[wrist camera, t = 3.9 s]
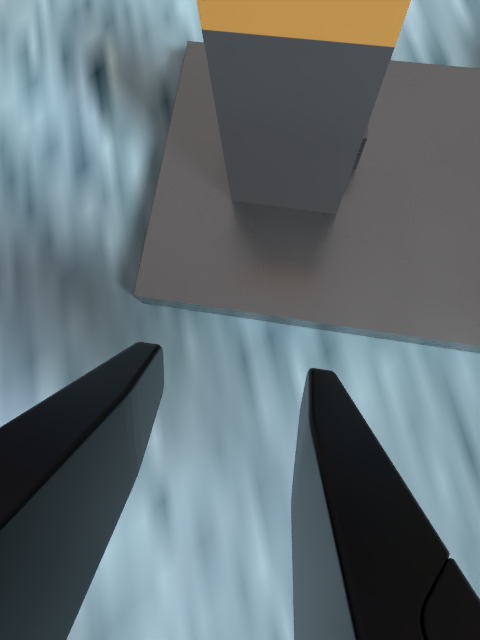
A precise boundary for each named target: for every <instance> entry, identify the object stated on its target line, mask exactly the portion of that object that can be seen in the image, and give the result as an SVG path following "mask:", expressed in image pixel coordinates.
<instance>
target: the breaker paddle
mask: <svg viewBox="0 0 480 640" xmlns="http://www.w3.org/2000/svg"><path fill="white" fill-rule="evenodd" d="M410 1H411V0H197V5H198V11H199V17H200V22H201V28H202V34H203V39H204V45H205V51H206V57H207V62H208V68H209V74H210V80H211V85H212V91H213V97H214V103H215V108H216V114H217V120H218V126H219V131H220V137H221V143H222V149H223V154H224V160H225V166H226V172H227V177H228V183H229V189H230V195H231V200H232V201H237V202H244V203H252V204H260V205H268V206H276V207H284V208H292V209H300V210H308V211H316V212H324V213H332V214H337V212H338V209H339V206H340V203H341V200H342V197H343V194H344V192H345V189H346V186H347V183H348V180H349V177H350V174H351V171H352V168H353V166H354V163H355V160H356V157H357V154H358V151H359V148H360V145H361V143H362V140H363V137H364V134H365V131H366V128H367V125H368V122H369V119H370V117H371V114H372V111H373V108H374V105H375V102H376V99H377V96H378V94H379V91H380V88H381V85H382V82H383V79H384V76H385V73H386V70H387V68H388V65H389V62H390V59H391V56H392V53H393V50H394V47H395V45H396V42H397V39H398V36H399V33H400V30H401V27H402V24H403V21H404V19H405V16H406V13H407V10H408V7H409V4H410Z"/></svg>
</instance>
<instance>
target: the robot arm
mask: <svg viewBox="0 0 480 640" xmlns="http://www.w3.org/2000/svg"><path fill="white" fill-rule="evenodd" d="M163 388H164V364H163V350H162V347H161V346H160V345H158V344H151V343H144V342H137V343H135V344H133V345H132V346H130V347H129V348H127V349H125V350H124V351H122V352H120V353H119V354H117V355H116V356H114V357H112V358H111V359H109V360H108V361H106V362H104V363H103V364H101V365H100V366H98V367H96V368H95V369H93V370H92V371H90V372H88V373H87V374H85V375H84V376H82V377H80V378H79V379H77V380H76V381H74V382H72V383H71V384H69V385H68V386H66V387H64V388H63V389H61V390H60V391H58V392H56V393H55V394H53V395H52V396H50V397H48V398H47V399H45V400H44V401H42V402H40V403H39V404H37V405H36V406H34V407H32V408H31V409H29V410H27V411H26V412H24V413H23V414H21V415H19V416H18V417H16V418H15V419H13V420H11V421H10V422H8V423H7V424H5V425H3V426H2V427H0V640H67V637H68V635H69V633H70V630H71V628H72V626H73V623H74V621H75V619H76V617H77V614H78V612H79V610H80V607H81V605H82V603H83V600H84V598H85V596H86V594H87V591H88V589H89V587H90V584H91V582H92V580H93V577H94V575H95V573H96V570H97V568H98V566H99V564H100V561H101V559H102V557H103V554H104V552H105V550H106V547H107V545H108V543H109V541H110V538H111V536H112V534H113V531H114V529H115V527H116V524H117V522H118V520H119V518H120V515H121V513H122V511H123V508H124V506H125V504H126V501H127V499H128V497H129V495H130V492H131V490H132V488H133V485H134V483H135V480H136V478H137V475H138V473H139V469H140V466H141V463H142V460H143V457H144V454H145V450H146V447H147V444H148V440H149V437H150V434H151V430H152V427H153V424H154V420H155V417H156V414H157V410H158V407H159V404H160V400H161V397H162V393H163ZM291 522H292V564H293V605H294V640H480V599H479V597H478V596H477V594H476V593H475V591H474V590H473V588H472V587H471V585H470V584H469V582H468V581H467V579H466V578H465V576H464V574H463V573H462V571H461V570H460V568H459V567H458V565H457V563H456V562H455V560H454V559H452V558H449V555H450V554H449V551H448V550H447V548H446V546H445V545H444V543H443V542H442V540H441V539H440V537H439V536H438V534H437V532H436V531H435V529H434V528H433V526H432V525H431V523H430V521H429V520H428V518H427V517H426V515H425V514H424V512H423V510H422V509H421V507H420V506H419V504H418V503H417V501H416V499H415V498H414V496H413V495H412V493H411V492H410V490H409V488H408V487H407V485H406V484H405V482H404V481H403V479H402V477H401V476H400V474H399V473H398V471H397V470H396V468H395V466H394V465H393V463H392V462H391V460H390V459H389V457H388V455H387V454H386V452H385V451H384V449H383V448H382V446H381V445H380V443H379V441H378V440H377V438H376V437H375V435H374V434H373V432H372V430H371V429H370V427H369V426H368V424H367V423H366V421H365V419H364V418H363V416H362V415H361V413H360V412H359V410H358V408H357V407H356V405H355V404H354V402H353V401H352V399H351V397H350V396H349V394H348V393H347V391H346V390H345V388H344V386H343V385H342V383H341V382H340V380H339V379H338V377H337V375H336V374H335V373H334V372H333V371H329V370H323V369H316V368H311V369H309V370H308V373H307V377H306V382H305V387H304V392H303V397H302V402H301V408H300V415H299V425H298V435H297V445H296V455H295V465H294V475H293V485H292V499H291ZM448 558H449V559H448ZM447 559H448V560H447Z"/></svg>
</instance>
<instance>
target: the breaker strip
mask: <svg viewBox="0 0 480 640" xmlns="http://www.w3.org/2000/svg"><path fill="white" fill-rule="evenodd" d="M134 296H135V297H136V298H137V299H139V300H140V301H141V302H142V303H148V304H155V305H161V306H168V307H175V308H181V309H188V310H195V311H202V312H208V313H215V314H222V315H228V316H235V317H242V318H248V319H255V320H262V321H269V322H275V323H282V324H289V325H295V326H302V327H309V328H315V329H322V330H329V331H335V332H342V333H349V334H356V335H362V336H369V337H376V338H382V339H389V340H396V341H402V342H409V343H416V344H422V345H429V346H436V347H443V348H449V349H456V350H463V351H469V352H476V353H480V69H476V68H465V67H455V66H444V65H434V64H423V63H413V62H402V61H392V60H390V62H389V65H388V68H387V70H386V73H385V76H384V79H383V82H382V85H381V88H380V91H379V94H378V96H377V99H376V102H375V105H374V108H373V111H372V114H371V117H370V119H369V122H368V125H367V128H366V131H365V134H364V137H363V140H362V143H361V145H360V148H359V151H358V154H357V157H356V160H355V163H354V166H353V168H352V171H351V174H350V177H349V180H348V183H347V186H346V189H345V192H344V194H343V197H342V200H341V203H340V206H339V209H338V212H337V214H332V213H324V212H316V211H308V210H300V209H292V208H284V207H276V206H268V205H260V204H252V203H244V202H237V201H232V200H231V195H230V189H229V183H228V177H227V172H226V166H225V160H224V154H223V149H222V143H221V137H220V131H219V126H218V120H217V114H216V108H215V103H214V97H213V91H212V85H211V80H210V74H209V68H208V62H207V57H206V51H205V45H204V43H202V42H191V41H188V42H187V47H186V52H185V56H184V61H183V66H182V70H181V75H180V80H179V84H178V89H177V94H176V98H175V103H174V108H173V112H172V117H171V122H170V126H169V131H168V136H167V140H166V145H165V150H164V154H163V159H162V164H161V168H160V173H159V178H158V182H157V187H156V192H155V197H154V201H153V206H152V211H151V215H150V220H149V225H148V229H147V234H146V239H145V243H144V248H143V253H142V257H141V262H140V267H139V271H138V276H137V281H136V285H135V290H134Z"/></svg>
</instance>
